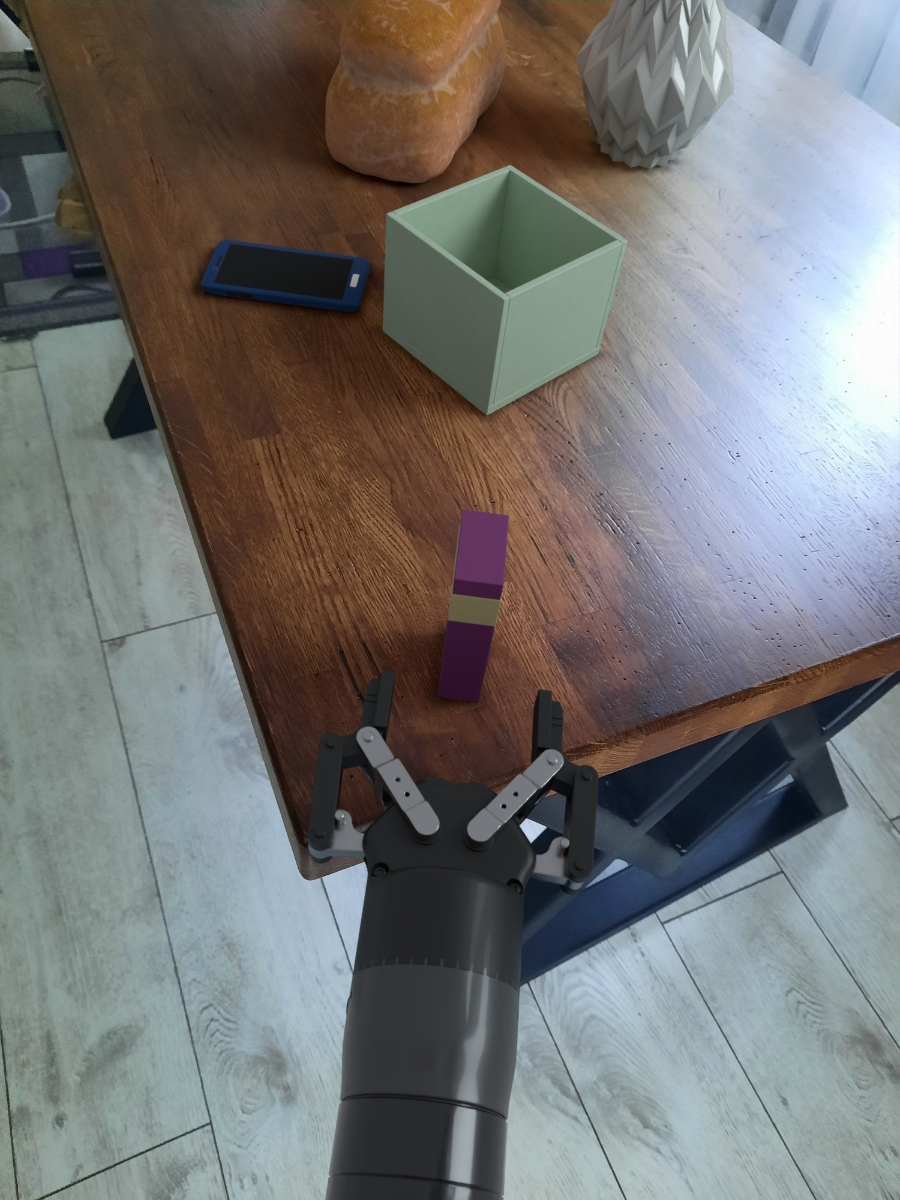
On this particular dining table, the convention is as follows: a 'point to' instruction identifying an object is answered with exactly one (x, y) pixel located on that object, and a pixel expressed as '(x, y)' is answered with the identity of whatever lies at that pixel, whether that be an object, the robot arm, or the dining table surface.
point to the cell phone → (286, 275)
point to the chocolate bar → (473, 603)
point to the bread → (412, 84)
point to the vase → (655, 76)
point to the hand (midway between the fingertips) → (465, 687)
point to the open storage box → (498, 285)
